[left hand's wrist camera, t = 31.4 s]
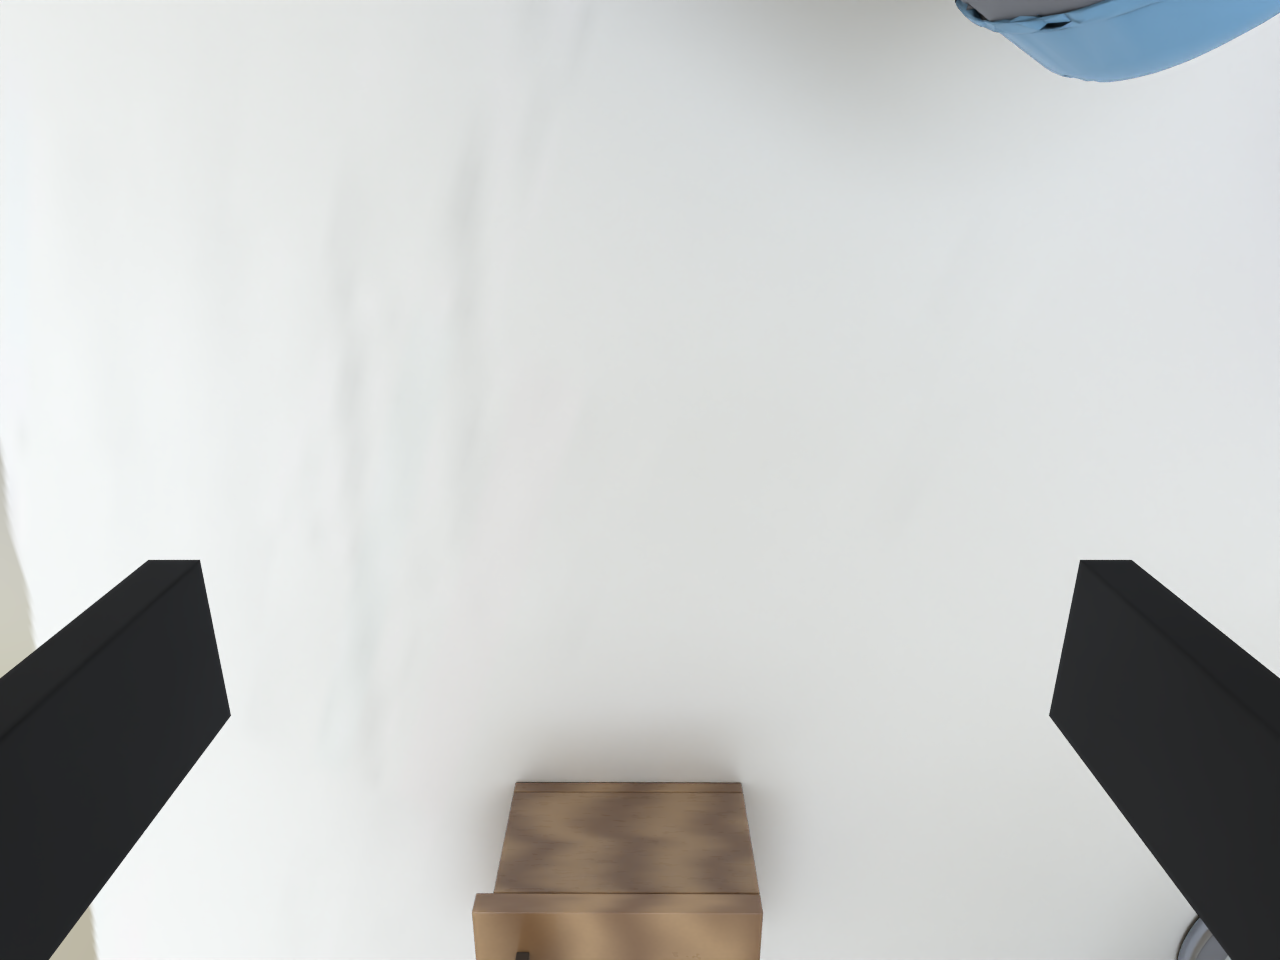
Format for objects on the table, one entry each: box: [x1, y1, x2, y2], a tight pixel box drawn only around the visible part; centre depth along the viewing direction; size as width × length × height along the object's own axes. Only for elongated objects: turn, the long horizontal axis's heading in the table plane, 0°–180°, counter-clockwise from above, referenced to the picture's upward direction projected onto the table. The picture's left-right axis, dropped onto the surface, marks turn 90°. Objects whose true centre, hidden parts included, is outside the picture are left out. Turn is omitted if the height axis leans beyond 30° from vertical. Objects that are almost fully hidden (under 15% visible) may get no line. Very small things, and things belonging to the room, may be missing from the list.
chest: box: [494, 783, 760, 894], centre depth 51 cm, size 14×12×9 cm
